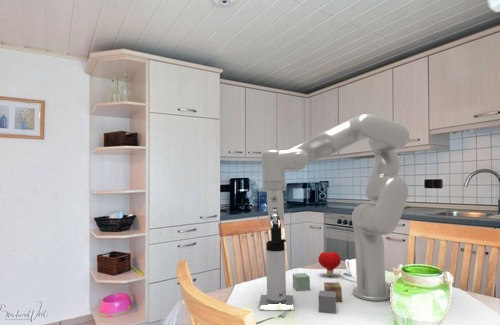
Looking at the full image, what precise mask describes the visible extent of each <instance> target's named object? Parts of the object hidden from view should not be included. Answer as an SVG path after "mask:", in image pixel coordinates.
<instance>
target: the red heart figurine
mask: <svg viewBox="0 0 500 325" xmlns="http://www.w3.org/2000/svg"><path fill="white" fill-rule="evenodd" d="M341 262H342V259H341V256H340V255H339V253H337V252H336V251H331V252H329V253H328V252H326V251H322V252H321V253H320V254H319V256H318V263H319V264H320V265H321V267H323V268H324V269H326V275H327V276H328V277H332V276H333V275H334V270H335V269H336V268H339V266H340V264H341ZM320 265H319V266H320Z"/></svg>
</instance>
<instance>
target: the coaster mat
mask: <svg viewBox="0 0 500 325" xmlns="http://www.w3.org/2000/svg"><path fill="white" fill-rule="evenodd" d="M259 298H260V299H259V304H258V307H259V306H261V305H268V304H272V303H269V302H268V301H267V294H261V295H260V297H259ZM294 302H295V301H294V295H291V294H286V302H284V303H282V304H286V305H292V304H294ZM294 305H295V304H294Z"/></svg>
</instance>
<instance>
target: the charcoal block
mask: <svg viewBox="0 0 500 325" xmlns="http://www.w3.org/2000/svg"><path fill="white" fill-rule="evenodd" d="M318 312H319V313H323V314H324V313H325V314H335V315H336V314H337V302H336V292H332V291H324V290H319V292H318Z"/></svg>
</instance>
